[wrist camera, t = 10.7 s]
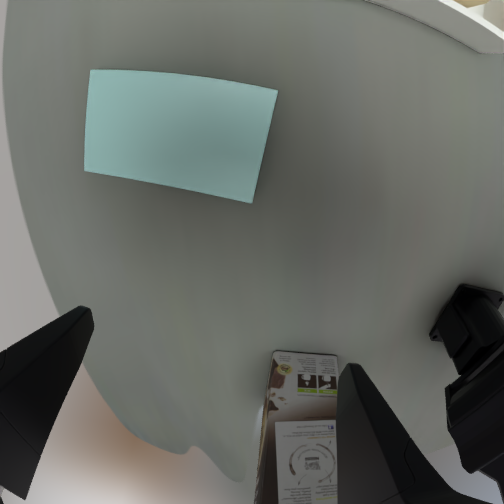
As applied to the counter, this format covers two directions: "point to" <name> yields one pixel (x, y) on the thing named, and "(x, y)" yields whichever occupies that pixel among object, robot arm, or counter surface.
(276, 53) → the counter surface
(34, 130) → the counter surface
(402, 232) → the counter surface
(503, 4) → the tub
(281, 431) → the coffee box
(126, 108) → the lid
